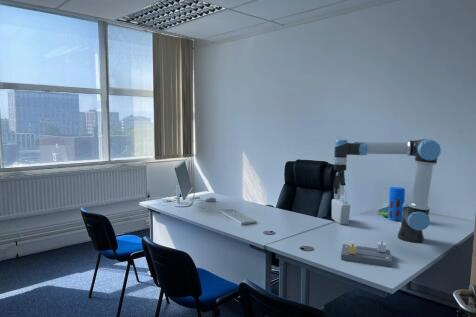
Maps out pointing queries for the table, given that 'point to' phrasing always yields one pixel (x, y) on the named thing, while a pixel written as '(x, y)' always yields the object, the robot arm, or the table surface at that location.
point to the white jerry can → (340, 211)
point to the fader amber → (352, 249)
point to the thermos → (396, 203)
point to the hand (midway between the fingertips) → (338, 197)
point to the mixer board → (367, 256)
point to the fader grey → (381, 247)
